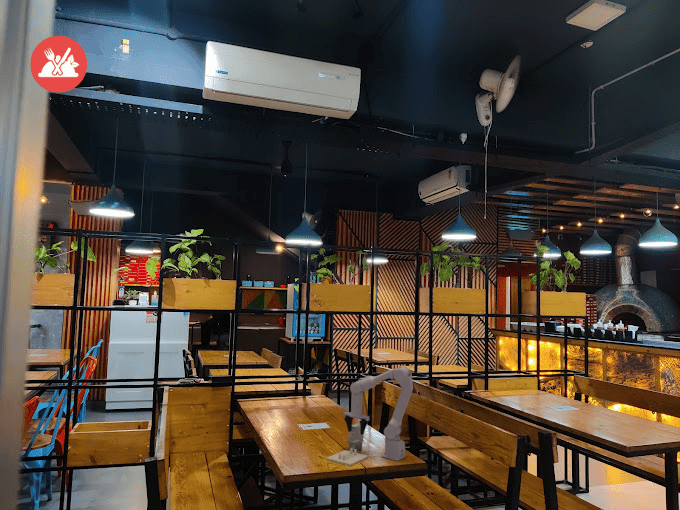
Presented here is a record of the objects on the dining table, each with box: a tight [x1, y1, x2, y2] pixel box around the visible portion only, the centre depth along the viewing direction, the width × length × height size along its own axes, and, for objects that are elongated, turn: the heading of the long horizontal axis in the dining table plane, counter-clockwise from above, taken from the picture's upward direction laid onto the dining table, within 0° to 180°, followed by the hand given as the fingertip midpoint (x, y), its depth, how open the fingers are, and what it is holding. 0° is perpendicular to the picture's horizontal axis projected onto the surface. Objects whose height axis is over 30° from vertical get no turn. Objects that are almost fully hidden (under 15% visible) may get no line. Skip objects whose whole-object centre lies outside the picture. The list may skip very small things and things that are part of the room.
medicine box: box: [348, 423, 364, 443], centre depth 272 cm, size 8×4×9 cm, turn 141°
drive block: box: [348, 439, 363, 453], centre depth 255 cm, size 4×7×5 cm, turn 145°
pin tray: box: [325, 448, 370, 467], centre depth 242 cm, size 14×16×4 cm
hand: (355, 432), depth 256 cm, fingers open, 7 cm apart
